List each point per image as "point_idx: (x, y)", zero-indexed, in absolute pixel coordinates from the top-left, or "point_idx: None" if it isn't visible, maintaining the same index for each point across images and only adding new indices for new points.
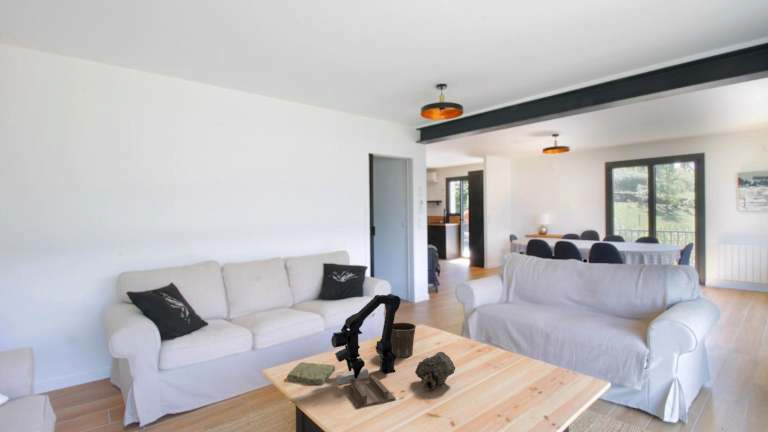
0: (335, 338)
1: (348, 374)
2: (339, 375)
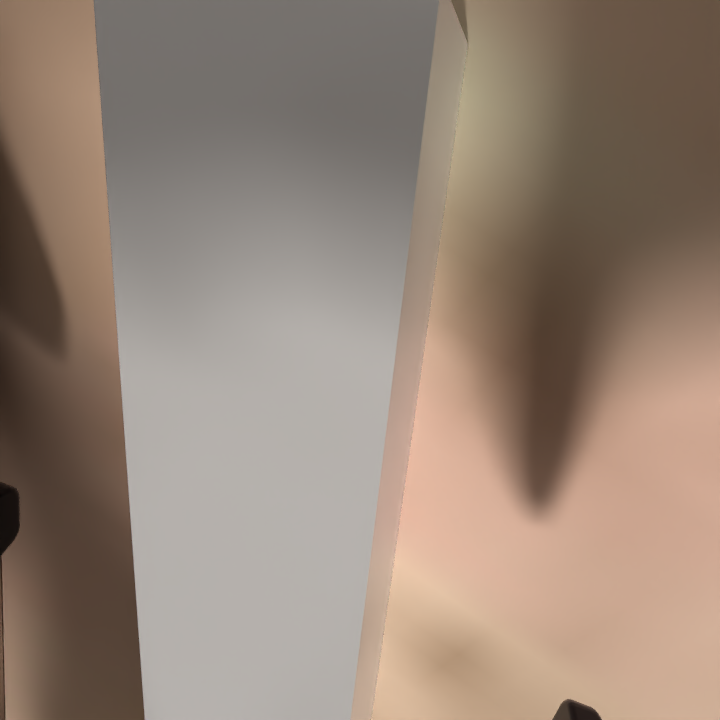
0: None
1: (208, 491)
2: (333, 129)
